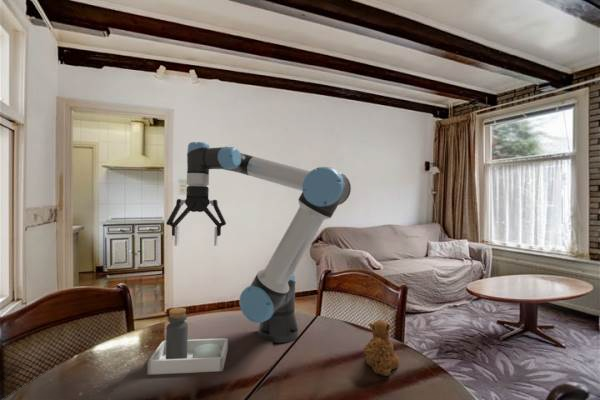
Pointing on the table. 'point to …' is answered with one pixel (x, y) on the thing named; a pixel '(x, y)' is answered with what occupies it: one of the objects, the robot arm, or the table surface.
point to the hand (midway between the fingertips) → (196, 245)
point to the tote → (188, 359)
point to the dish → (207, 351)
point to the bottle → (177, 334)
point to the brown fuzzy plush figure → (381, 349)
